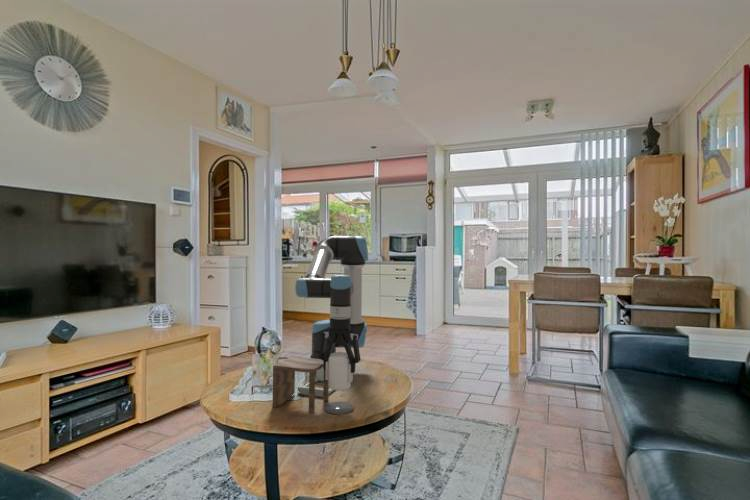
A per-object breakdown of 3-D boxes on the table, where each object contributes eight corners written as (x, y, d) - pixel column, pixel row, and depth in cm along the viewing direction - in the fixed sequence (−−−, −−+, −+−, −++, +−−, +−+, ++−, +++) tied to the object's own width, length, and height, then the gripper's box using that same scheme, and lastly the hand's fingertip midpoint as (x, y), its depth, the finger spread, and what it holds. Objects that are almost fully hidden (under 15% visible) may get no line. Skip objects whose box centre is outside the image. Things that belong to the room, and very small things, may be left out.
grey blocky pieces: (318, 378, 184) (318, 363, 184) (344, 381, 180) (344, 365, 180) (297, 393, 165) (298, 375, 165) (325, 396, 161) (326, 378, 161)
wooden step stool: (291, 394, 164) (291, 356, 164) (328, 399, 159) (329, 360, 159) (272, 407, 150) (273, 365, 150) (312, 413, 145) (313, 369, 146)
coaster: (330, 401, 157) (330, 400, 157) (357, 405, 154) (357, 403, 154) (318, 412, 146) (318, 410, 146) (347, 416, 143) (347, 414, 143)
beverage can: (346, 392, 145) (346, 358, 146) (324, 389, 148) (325, 356, 148) (353, 385, 153) (354, 352, 153) (333, 383, 156) (333, 351, 156)
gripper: (309, 317, 150) (308, 380, 150) (364, 320, 144) (363, 386, 143) (318, 314, 157) (317, 374, 157) (370, 317, 151) (369, 380, 151)
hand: (339, 380), depth 150 cm, fingers closed on beverage can, 8 cm apart
